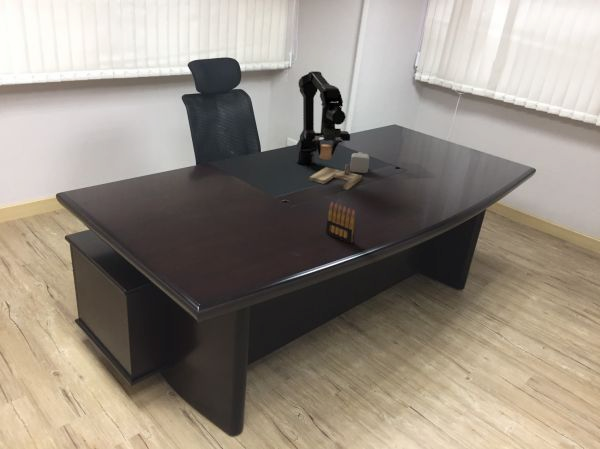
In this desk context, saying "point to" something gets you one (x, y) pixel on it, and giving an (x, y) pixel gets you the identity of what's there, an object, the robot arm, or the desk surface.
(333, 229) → the ammunition clip
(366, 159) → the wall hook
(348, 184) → the pale wood u-shaped block
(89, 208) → the desk surface
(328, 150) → the tan rounded cone
